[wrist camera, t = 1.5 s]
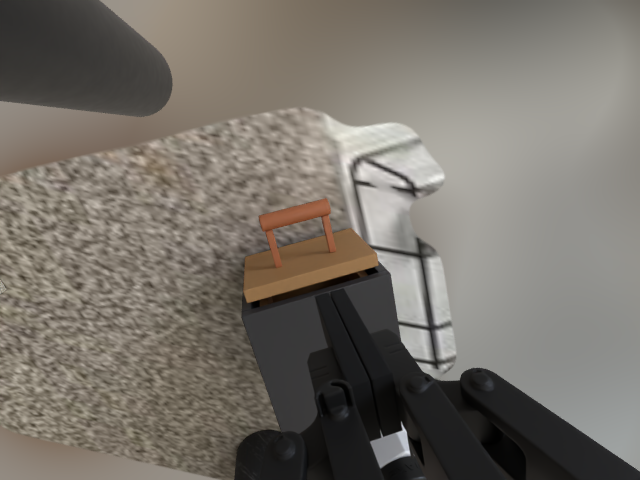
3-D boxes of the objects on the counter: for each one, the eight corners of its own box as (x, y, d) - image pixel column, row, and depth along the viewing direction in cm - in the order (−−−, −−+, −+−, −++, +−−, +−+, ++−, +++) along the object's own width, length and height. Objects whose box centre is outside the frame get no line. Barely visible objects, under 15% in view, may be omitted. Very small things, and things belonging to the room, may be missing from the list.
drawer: (230, 211, 32) (223, 234, 25) (342, 182, 34) (367, 196, 26) (278, 361, 39) (284, 415, 31) (371, 332, 40) (398, 378, 33)
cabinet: (244, 269, 35) (241, 316, 26) (356, 238, 37) (390, 273, 28) (279, 376, 40) (286, 446, 31) (377, 345, 42) (411, 404, 33)
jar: (415, 400, 46) (467, 488, 35) (383, 444, 47) (424, 542, 36) (362, 381, 43) (401, 469, 32) (330, 428, 44) (356, 529, 33)
